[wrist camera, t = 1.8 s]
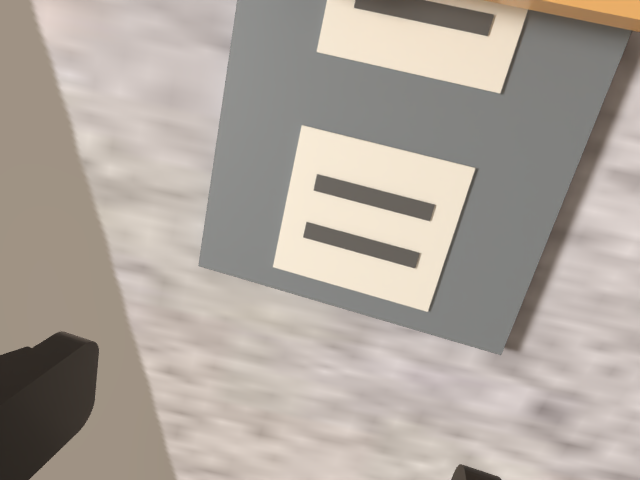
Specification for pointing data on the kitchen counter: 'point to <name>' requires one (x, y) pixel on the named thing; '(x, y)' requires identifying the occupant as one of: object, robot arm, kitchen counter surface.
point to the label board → (402, 154)
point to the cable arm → (587, 10)
